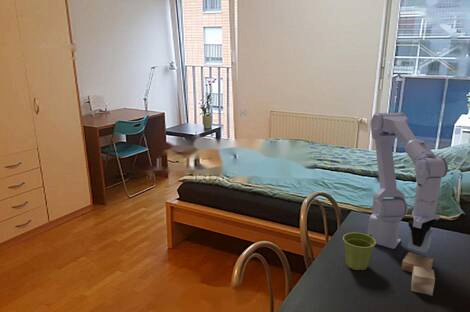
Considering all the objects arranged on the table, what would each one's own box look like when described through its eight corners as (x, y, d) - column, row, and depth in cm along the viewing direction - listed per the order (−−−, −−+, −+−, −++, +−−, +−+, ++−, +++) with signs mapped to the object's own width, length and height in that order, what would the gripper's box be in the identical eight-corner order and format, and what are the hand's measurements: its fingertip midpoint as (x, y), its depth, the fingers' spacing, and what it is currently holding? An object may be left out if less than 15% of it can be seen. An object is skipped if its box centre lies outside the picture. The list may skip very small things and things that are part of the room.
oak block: (401, 270, 113) (402, 261, 112) (407, 260, 118) (408, 251, 117) (426, 278, 109) (428, 269, 108) (431, 268, 114) (433, 259, 113)
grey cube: (407, 247, 111) (409, 231, 109) (411, 241, 114) (414, 226, 113) (426, 253, 108) (428, 237, 106) (429, 246, 112) (432, 230, 110)
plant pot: (334, 265, 114) (337, 239, 112) (349, 254, 121) (351, 229, 118) (364, 278, 108) (367, 250, 106) (377, 265, 115) (381, 239, 112)
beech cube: (411, 291, 102) (414, 274, 101) (411, 281, 107) (413, 265, 105) (432, 295, 100) (435, 279, 99) (430, 285, 105) (433, 269, 104)
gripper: (436, 210, 99) (428, 256, 103) (447, 194, 110) (439, 236, 114) (407, 203, 103) (401, 247, 107) (420, 189, 114) (414, 230, 118)
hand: (419, 241), depth 111 cm, fingers closed on grey cube, 5 cm apart
